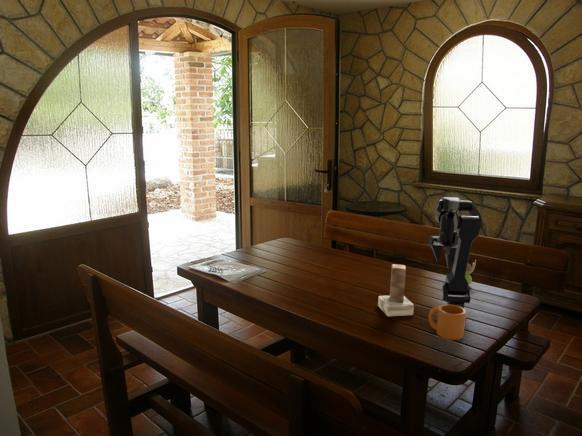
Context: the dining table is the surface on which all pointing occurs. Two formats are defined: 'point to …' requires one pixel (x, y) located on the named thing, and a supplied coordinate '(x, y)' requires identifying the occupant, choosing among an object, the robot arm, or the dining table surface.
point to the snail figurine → (468, 271)
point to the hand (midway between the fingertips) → (443, 265)
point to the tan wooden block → (397, 283)
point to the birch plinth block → (395, 306)
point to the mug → (448, 321)
